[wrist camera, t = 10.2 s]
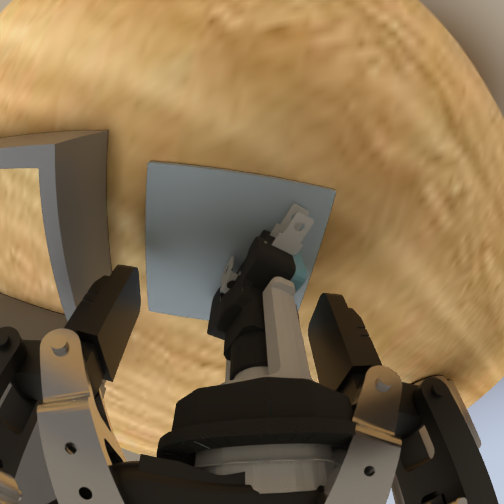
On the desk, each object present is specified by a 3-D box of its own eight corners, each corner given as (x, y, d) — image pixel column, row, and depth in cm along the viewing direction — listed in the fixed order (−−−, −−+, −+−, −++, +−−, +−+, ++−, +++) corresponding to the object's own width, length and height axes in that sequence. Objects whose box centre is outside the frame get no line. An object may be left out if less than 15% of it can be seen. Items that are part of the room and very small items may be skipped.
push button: (245, 174, 11) (240, 445, 2) (348, 231, 12) (467, 435, 3) (183, 292, 13) (136, 493, 5) (274, 328, 15) (292, 510, 6)
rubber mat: (333, 188, 11) (336, 191, 11) (290, 324, 15) (291, 329, 15) (150, 160, 11) (148, 162, 10) (150, 306, 14) (148, 310, 14)
